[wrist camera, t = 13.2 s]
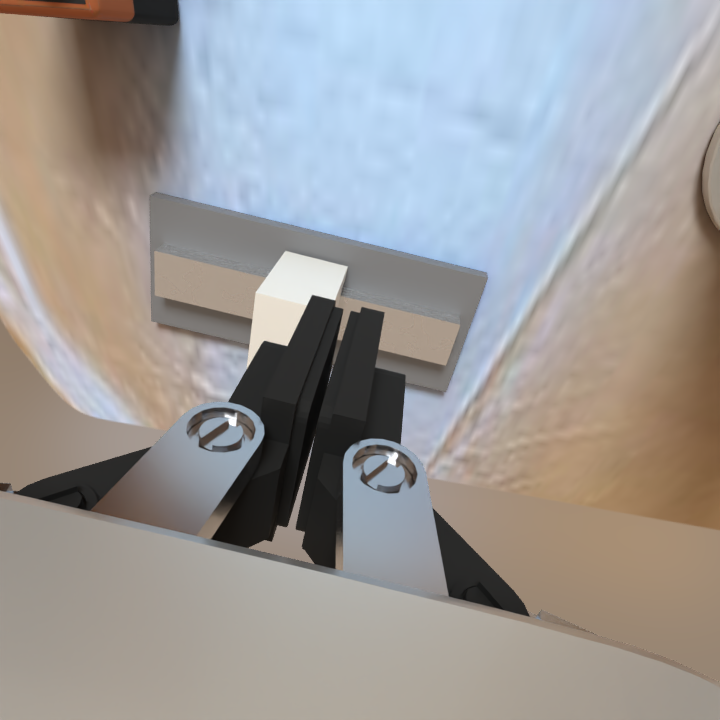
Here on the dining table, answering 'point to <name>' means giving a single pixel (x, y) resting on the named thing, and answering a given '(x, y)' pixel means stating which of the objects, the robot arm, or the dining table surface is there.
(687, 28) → the dining table surface
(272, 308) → the block
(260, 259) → the mounting plate
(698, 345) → the dining table surface
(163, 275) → the rail
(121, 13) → the battery
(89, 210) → the dining table surface
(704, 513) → the dining table surface
